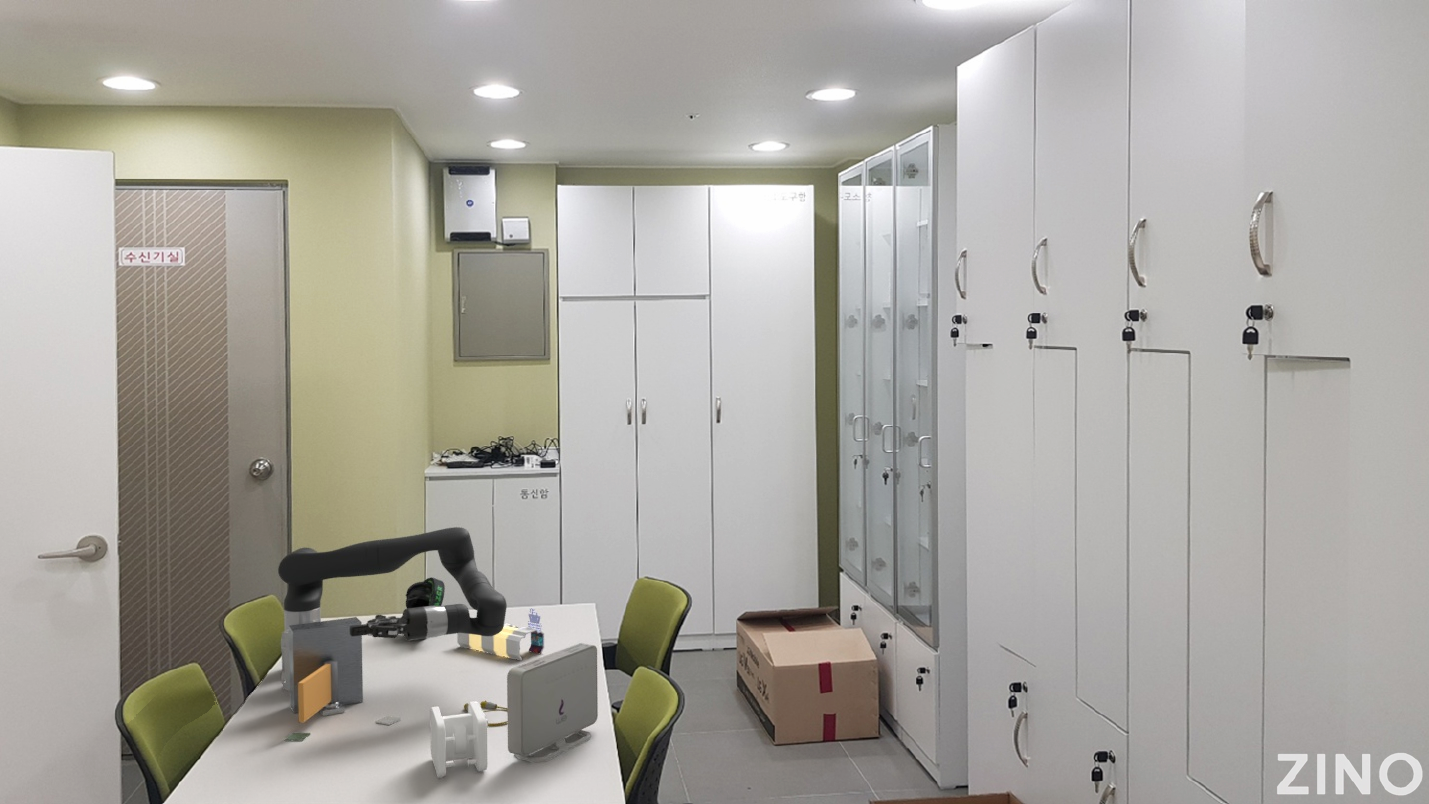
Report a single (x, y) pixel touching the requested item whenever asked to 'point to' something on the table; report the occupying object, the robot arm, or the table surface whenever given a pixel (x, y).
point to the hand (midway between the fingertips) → (350, 631)
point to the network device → (552, 701)
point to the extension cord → (489, 706)
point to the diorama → (506, 639)
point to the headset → (424, 594)
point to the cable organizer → (458, 738)
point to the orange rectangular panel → (318, 690)
